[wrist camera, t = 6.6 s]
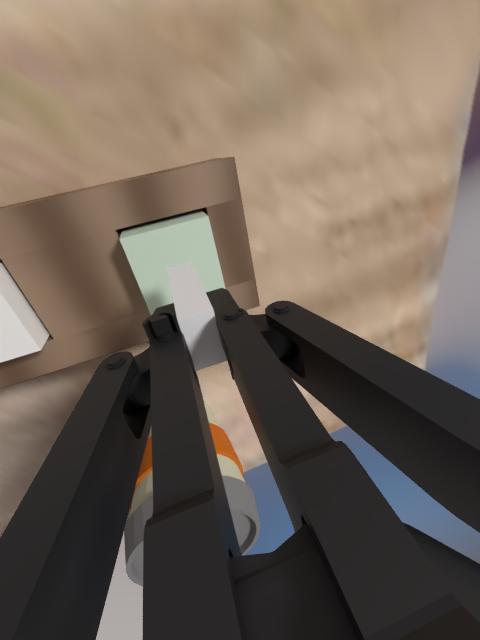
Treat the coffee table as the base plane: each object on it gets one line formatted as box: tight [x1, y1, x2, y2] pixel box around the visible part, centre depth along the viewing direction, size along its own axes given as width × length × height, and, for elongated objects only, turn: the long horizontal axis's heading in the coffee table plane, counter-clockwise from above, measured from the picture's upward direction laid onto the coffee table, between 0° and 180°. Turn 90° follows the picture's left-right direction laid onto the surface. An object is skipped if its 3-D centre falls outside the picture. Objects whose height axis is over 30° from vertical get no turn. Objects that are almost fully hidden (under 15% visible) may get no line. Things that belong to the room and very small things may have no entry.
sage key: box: [120, 209, 226, 315], centre depth 22 cm, size 6×6×5 cm
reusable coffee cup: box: [124, 402, 261, 586], centre depth 32 cm, size 13×12×15 cm
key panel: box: [0, 157, 260, 388], centre depth 23 cm, size 26×12×6 cm, turn 101°
